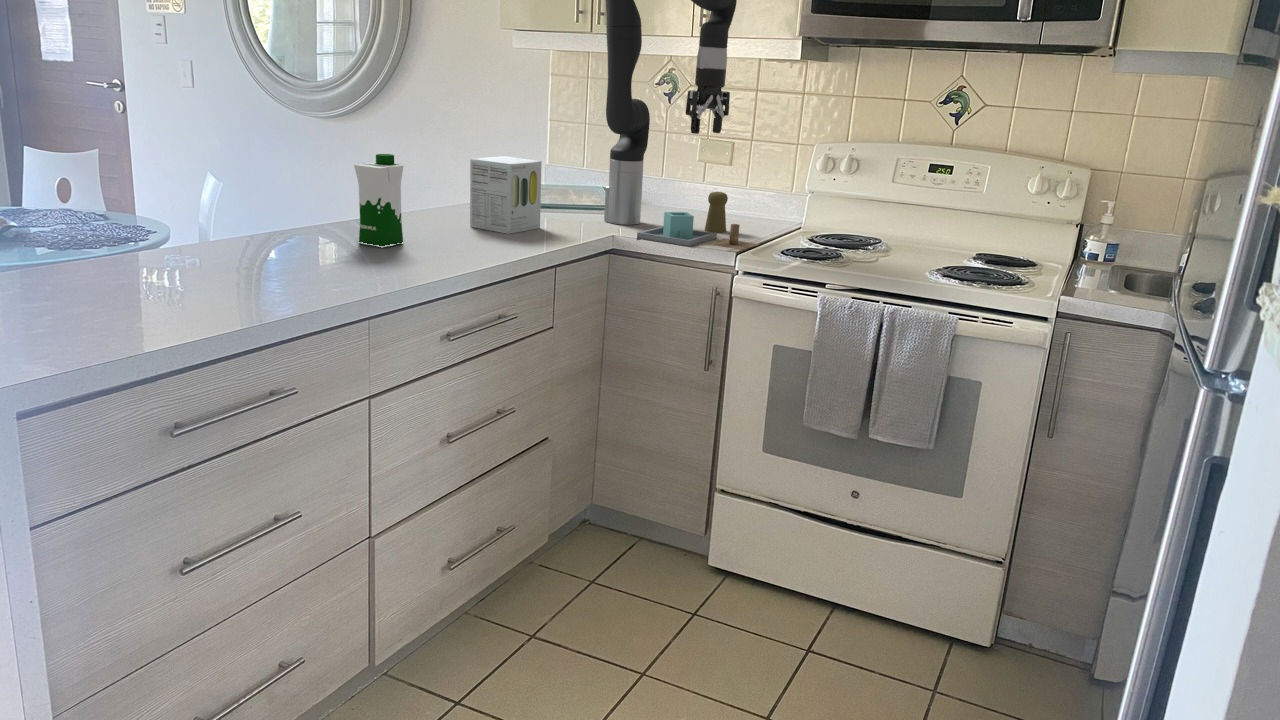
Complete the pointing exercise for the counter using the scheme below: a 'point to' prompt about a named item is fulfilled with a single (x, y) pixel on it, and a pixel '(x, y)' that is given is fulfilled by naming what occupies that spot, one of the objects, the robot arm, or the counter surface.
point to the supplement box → (505, 194)
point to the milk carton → (380, 201)
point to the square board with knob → (734, 240)
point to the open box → (678, 225)
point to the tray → (658, 236)
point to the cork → (716, 213)
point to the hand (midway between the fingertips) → (705, 133)
